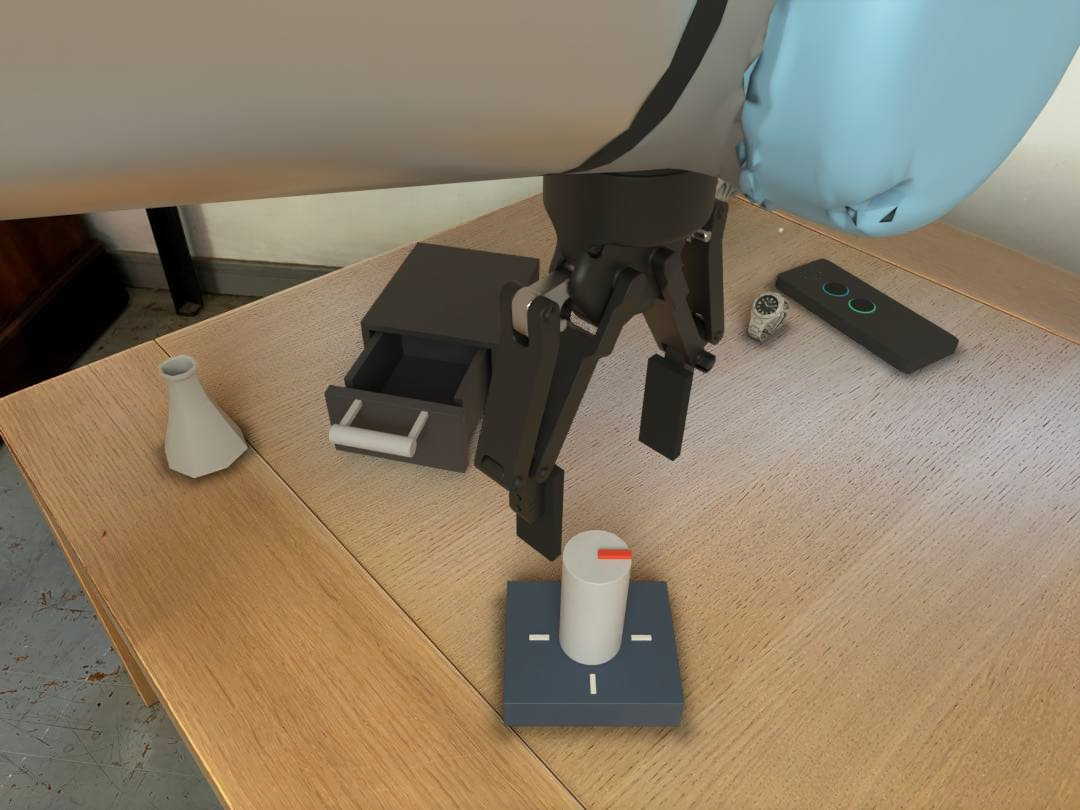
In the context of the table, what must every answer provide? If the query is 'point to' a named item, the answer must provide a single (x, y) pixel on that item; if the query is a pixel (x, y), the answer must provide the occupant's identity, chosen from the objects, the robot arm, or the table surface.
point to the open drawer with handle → (411, 401)
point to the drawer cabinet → (448, 295)
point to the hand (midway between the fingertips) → (602, 493)
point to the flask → (196, 423)
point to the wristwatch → (767, 315)
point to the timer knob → (593, 596)
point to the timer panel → (590, 690)
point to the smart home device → (867, 315)
